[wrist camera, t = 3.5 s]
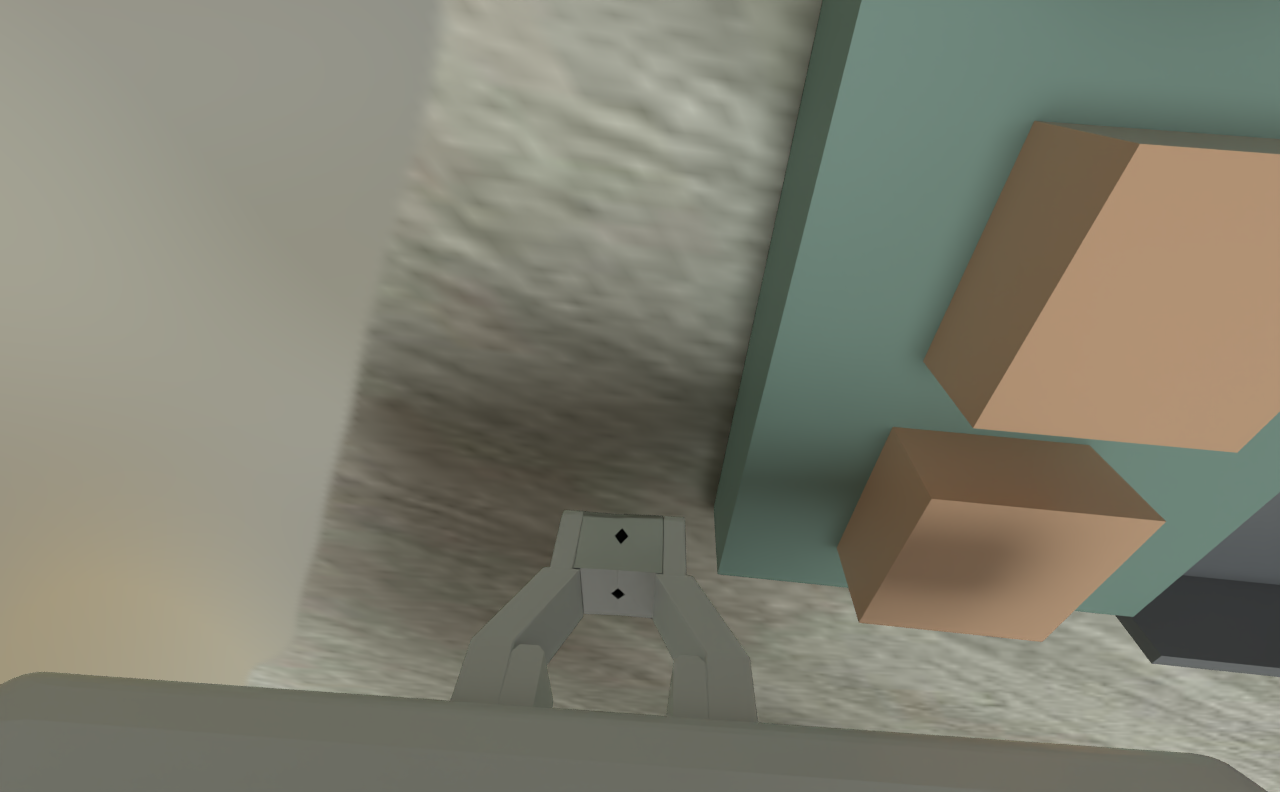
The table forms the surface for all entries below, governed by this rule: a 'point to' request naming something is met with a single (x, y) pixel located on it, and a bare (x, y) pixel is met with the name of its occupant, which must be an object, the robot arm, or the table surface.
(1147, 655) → the tray
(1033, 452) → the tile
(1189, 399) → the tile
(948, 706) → the table surface
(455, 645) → the table surface
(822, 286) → the plate
